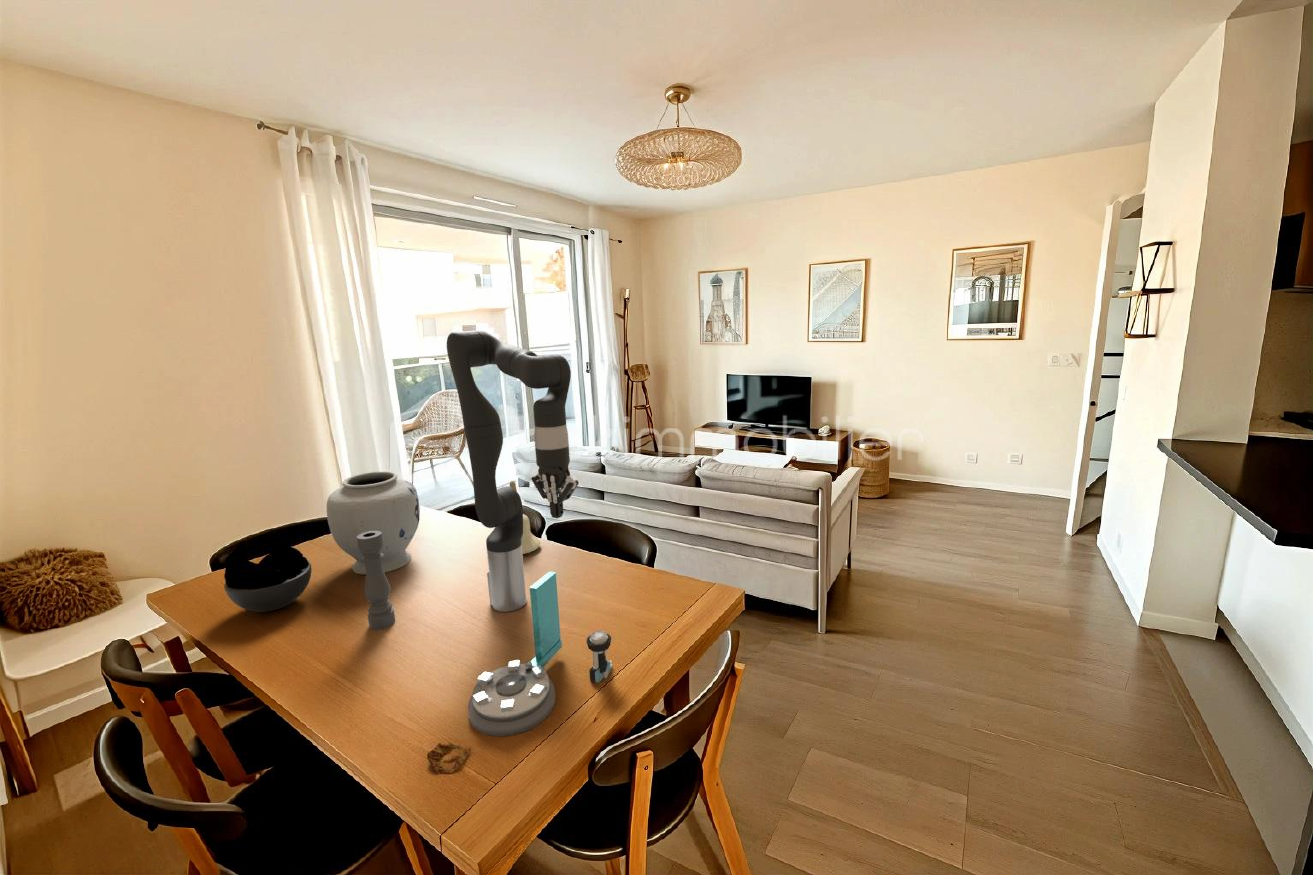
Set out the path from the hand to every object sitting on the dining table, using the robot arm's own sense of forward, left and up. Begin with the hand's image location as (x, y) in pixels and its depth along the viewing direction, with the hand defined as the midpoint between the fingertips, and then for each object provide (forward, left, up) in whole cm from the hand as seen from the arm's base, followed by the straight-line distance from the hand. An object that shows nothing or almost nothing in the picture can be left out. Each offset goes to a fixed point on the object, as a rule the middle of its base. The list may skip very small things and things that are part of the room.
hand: (557, 516), depth 125 cm
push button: (+16, -6, -32) cm, 36 cm away
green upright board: (+5, -18, -30) cm, 35 cm away
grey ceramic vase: (-84, +4, -32) cm, 90 cm away
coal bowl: (-84, -28, -32) cm, 94 cm away
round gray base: (+6, -23, -32) cm, 40 cm away
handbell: (-52, +34, -32) cm, 70 cm away
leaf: (+7, -39, -33) cm, 51 cm away
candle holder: (-48, -18, -32) cm, 61 cm away
